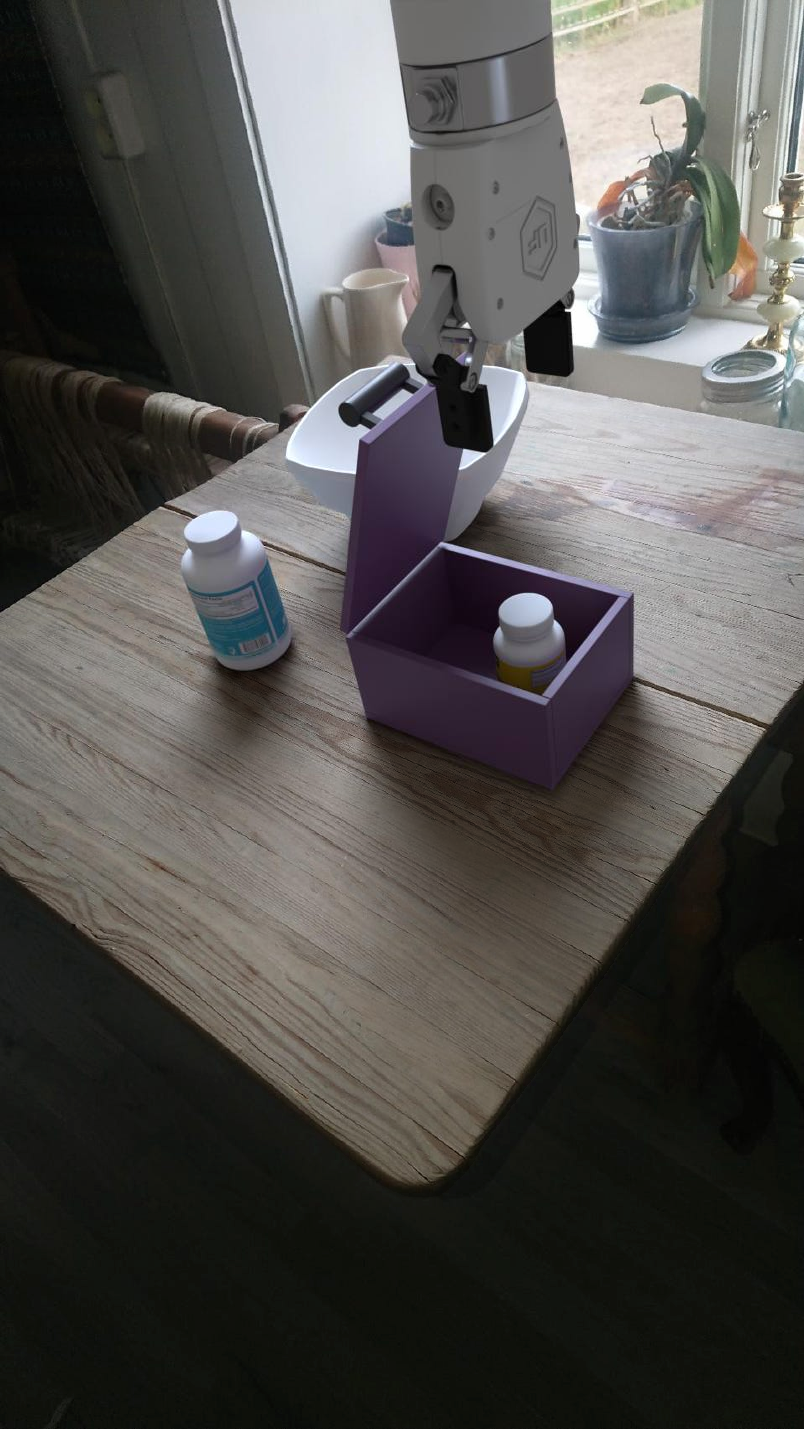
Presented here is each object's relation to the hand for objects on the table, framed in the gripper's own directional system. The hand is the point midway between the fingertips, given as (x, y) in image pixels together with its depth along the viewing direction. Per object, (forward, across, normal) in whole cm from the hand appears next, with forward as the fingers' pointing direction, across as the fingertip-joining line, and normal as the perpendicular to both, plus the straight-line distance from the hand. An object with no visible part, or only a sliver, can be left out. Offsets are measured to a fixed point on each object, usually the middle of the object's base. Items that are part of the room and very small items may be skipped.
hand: (511, 408), depth 60 cm
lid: (+9, 0, +9) cm, 13 cm away
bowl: (+26, +20, +25) cm, 42 cm away
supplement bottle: (+26, 0, +1) cm, 26 cm away
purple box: (+26, 0, +4) cm, 27 cm away
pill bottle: (+26, -4, +28) cm, 39 cm away
